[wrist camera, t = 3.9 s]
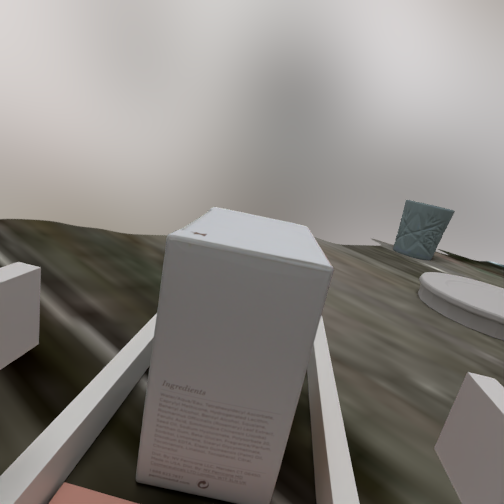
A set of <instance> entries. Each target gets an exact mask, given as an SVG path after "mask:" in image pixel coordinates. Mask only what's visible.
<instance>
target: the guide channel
mask: <svg viewBox="0 0 504 504" xmlns="http://www.w3.org/2000/svg"><path fill="white" fill-rule="evenodd" d="M156 317H157V314H156V315H155V316H154V317H153V318H152V319H151V320H150V321H149V322H148V323H147V324H146V325H145V326H144V327H143V328H142V329H141V330H140V331H139V332H138V333H137V334H136V335H135V336H134V337H133V339H132V340H131V341H130V342H129V343H128V344H127V345H126V346H125V347H124V348H123V349H122V350H121V351H120V352H119V353H118V354H117V355H116V356H115V357H114V358H113V359H112V360H111V361H110V363H109V364H108V365H107V366H106V367H105V368H104V369H103V370H102V371H101V372H100V373H99V374H98V375H97V376H96V377H95V378H94V379H93V380H92V381H91V382H90V383H89V384H88V385H87V386H86V388H85V389H84V390H83V391H82V392H81V393H80V394H79V395H78V396H77V397H76V398H75V399H74V400H73V401H72V402H71V403H70V404H69V405H68V406H67V407H66V408H65V409H64V410H63V411H62V413H61V414H60V415H59V416H58V417H57V418H56V419H55V420H54V421H53V422H52V423H51V424H50V425H49V426H48V427H47V428H46V429H45V430H44V431H43V432H42V433H41V434H40V435H39V436H38V438H37V439H36V440H35V441H34V442H33V443H32V444H31V445H30V446H29V447H28V448H27V449H26V450H25V451H24V452H23V453H22V454H21V455H20V456H19V457H18V458H17V459H16V460H15V461H14V463H13V464H12V465H11V466H10V467H9V468H8V469H7V470H6V471H5V472H4V473H3V474H2V475H1V476H0V504H48V503H49V501H50V500H51V499H52V497H53V496H54V495H55V493H56V492H57V491H58V489H59V488H60V486H61V485H62V484H63V482H64V481H65V480H66V478H67V477H68V476H69V474H70V473H71V472H72V470H73V469H74V468H75V466H76V465H77V463H78V462H79V461H80V459H81V458H82V457H83V455H84V454H85V453H86V451H87V450H88V449H89V447H90V446H91V444H92V443H93V442H94V440H95V439H96V438H97V436H98V435H99V434H100V432H101V431H102V430H103V428H104V427H105V426H106V424H107V423H108V421H109V420H110V419H111V417H112V416H113V415H114V413H115V412H116V411H117V409H118V408H119V407H120V405H121V404H122V402H123V401H124V400H125V398H126V397H127V396H128V394H129V393H130V392H131V390H132V389H133V388H134V386H135V385H136V383H137V382H138V381H139V379H140V378H141V377H142V375H143V374H144V373H145V371H146V370H147V369H148V367H149V366H150V360H151V353H152V345H153V338H154V331H155V324H156ZM307 375H308V390H309V404H310V418H311V432H312V446H313V461H314V475H315V489H316V503H317V504H359V500H358V495H357V490H356V485H355V479H354V474H353V469H352V464H351V459H350V454H349V449H348V444H347V439H346V434H345V429H344V424H343V419H342V414H341V409H340V404H339V399H338V394H337V389H336V384H335V379H334V374H333V369H332V364H331V359H330V354H329V349H328V344H327V339H326V334H325V329H324V324H323V319H322V316H321V318H320V322H319V325H318V329H317V333H316V337H315V340H314V344H313V348H312V352H311V355H310V359H309V363H308V366H307Z"/></svg>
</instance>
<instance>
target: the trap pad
mask: <svg viewBox="0 0 504 504" xmlns="http://www.w3.org/2000/svg"><path fill="white" fill-rule="evenodd" d="M49 504H138V503H134V502H131V501H127V500H124V499H120V498H117V497H113V496H110V495H107V494H103V493H100V492H96V491H93V490H89V489H86V488H82V487H79V486H75V485H72V484H68V483H65V482H64V483H63V485H62V486H61V487H60V489H59V490H58V491H57V493H56V494H55V495H54V497H53V498H52V499H51V501H50V502H49Z"/></svg>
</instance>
